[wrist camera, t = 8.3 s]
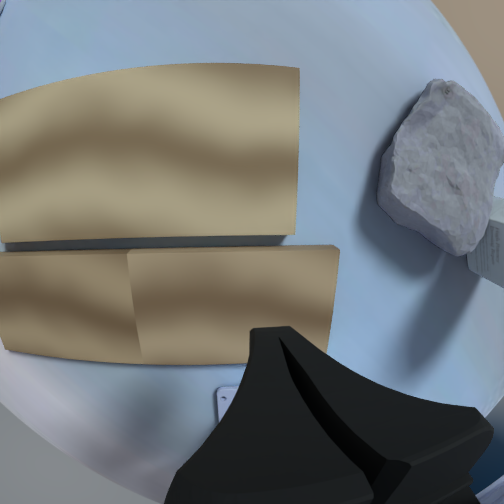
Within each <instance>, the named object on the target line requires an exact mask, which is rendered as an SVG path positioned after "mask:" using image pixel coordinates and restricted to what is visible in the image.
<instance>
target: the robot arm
mask: <svg viewBox="0 0 504 504" xmlns="http://www.w3.org/2000/svg"><path fill="white" fill-rule="evenodd" d="M223 396H224V397H225V398H222V397H223ZM217 404H218V417H219V424H218V425H217V426H216V428H215V429H214V430H213V432H212V433H211V434H210V436H209V437H208V438H207V439H206V441H205V442H204V443H203V445H202V446H201V447H200V448H199V449H198V450H197V451H196V452H195V453H194V454H193V455H192V457H191V458H190V459H189V460H188V461H187V462H186V463H185V464H184V465H183V466H182V467H181V468H180V469H179V470H178V471H177V472H176V474H175V476H174V479H173V481H172V483H171V485H170V488H169V490H168V493H167V496H166V498H165V502H164V504H504V475H503V476H502V477H501V478H499V479H498V480H497V481H495V482H494V483H493V484H491V485H490V486H488V487H487V488H486V489H484V490H483V491H481V492H480V493H478V494H477V495H475V494H474V493H473V491H472V490H471V488H470V487H469V485H471V484H472V482H473V478H472V477H471V476H470V475H469V473H468V472H469V471H470V469H471V468H472V467H473V466H474V464H475V463H476V462H477V460H478V459H479V458H480V457H481V456H482V454H483V453H484V452H485V450H486V449H487V447H488V446H489V444H490V442H491V440H492V438H493V434H494V428H493V427H492V426H491V424H490V423H489V422H488V421H487V420H486V419H485V418H484V417H483V415H482V414H481V413H480V412H479V411H478V410H477V409H476V408H475V407H466V406H458V405H450V404H443V403H437V402H433V401H429V400H424V399H420V398H417V397H413V396H410V395H406V394H404V393H401V392H398V391H395V390H392V389H390V388H387V387H385V386H382V385H380V384H377V383H375V382H373V381H371V380H369V379H367V378H365V377H363V376H361V375H359V374H357V373H355V372H354V371H352V370H350V369H349V368H347V367H345V366H344V365H342V364H340V363H339V362H337V361H336V360H334V359H333V358H331V357H330V356H328V355H327V354H326V353H324V352H323V351H321V350H320V349H319V348H317V347H316V346H315V345H314V344H312V343H311V342H310V341H308V340H307V339H306V338H305V337H303V336H302V335H301V334H300V333H298V332H297V331H296V330H295V329H293V328H292V327H291V326H278V327H261V328H252V329H251V330H250V335H249V358H248V362H247V366H246V369H245V372H244V375H243V377H242V380H241V383H240V385H239V386H232V387H220V388H218V389H217Z"/></svg>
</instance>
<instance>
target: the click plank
mask: <svg viewBox="0 0 504 504" xmlns="http://www.w3.org/2000/svg"><path fill="white" fill-rule="evenodd" d="M299 90H300V71H299V68H295V67H286V66H275V65H261V64H241V63H190V64H170V65H157V66H146V67H137V68H129V69H121V70H114V71H108V72H102V73H96V74H91V75H86V76H81V77H76V78H71V79H67V80H63V81H59V82H55V83H51V84H47V85H43V86H40V87H36V88H33V89H29V90H26V91H23V92H20V93H17V94H14V95H11V96H8V97H5V98H2V99H0V235H1V242H2V243H9V242H30V241H53V240H78V239H106V238H139V237H178V236H231V235H295V227H296V207H297V183H298V153H299Z"/></svg>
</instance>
